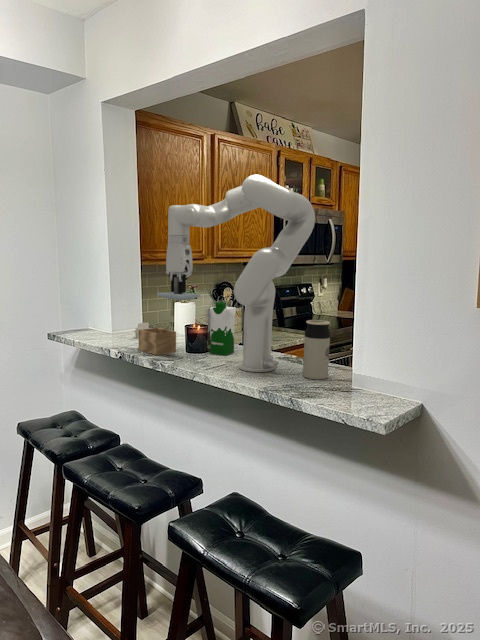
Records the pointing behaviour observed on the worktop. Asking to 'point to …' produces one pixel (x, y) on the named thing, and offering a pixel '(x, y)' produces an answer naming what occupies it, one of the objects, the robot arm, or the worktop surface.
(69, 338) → the worktop surface
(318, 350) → the travel mug
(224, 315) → the milk carton
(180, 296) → the lid
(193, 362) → the worktop surface
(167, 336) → the box
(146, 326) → the architectural model
